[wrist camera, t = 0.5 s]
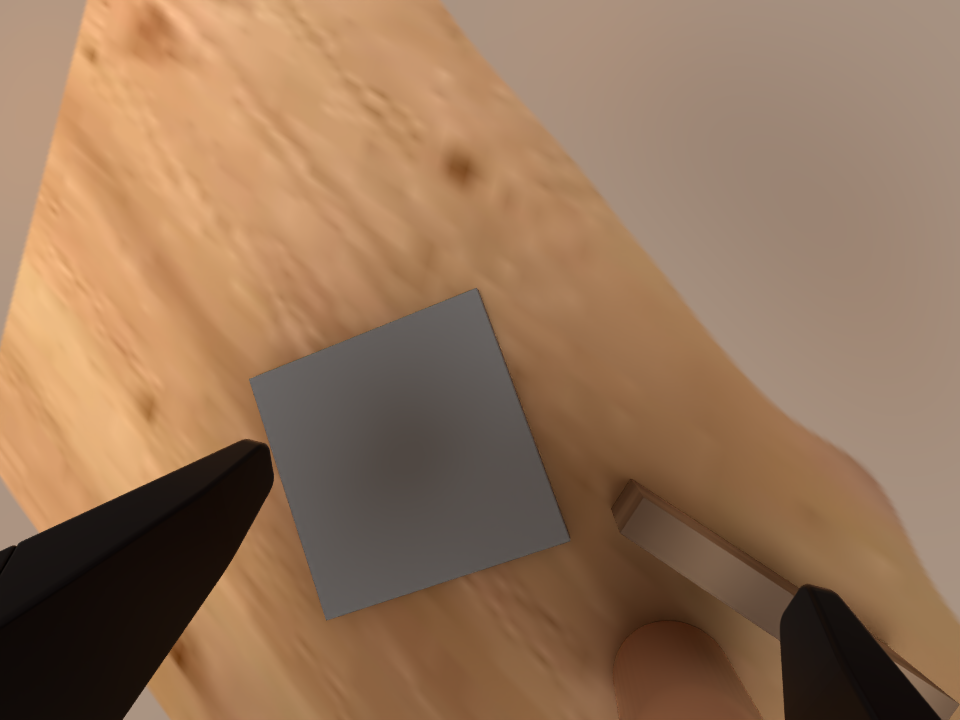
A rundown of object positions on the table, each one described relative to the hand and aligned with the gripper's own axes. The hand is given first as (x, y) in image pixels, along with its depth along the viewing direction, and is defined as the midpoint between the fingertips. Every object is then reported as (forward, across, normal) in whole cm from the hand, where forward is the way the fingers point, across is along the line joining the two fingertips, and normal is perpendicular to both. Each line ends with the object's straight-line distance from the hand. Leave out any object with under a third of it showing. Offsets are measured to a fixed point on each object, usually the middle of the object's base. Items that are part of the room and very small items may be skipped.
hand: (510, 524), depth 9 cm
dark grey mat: (+12, +6, +11) cm, 17 cm away
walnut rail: (+11, -9, +12) cm, 19 cm away
